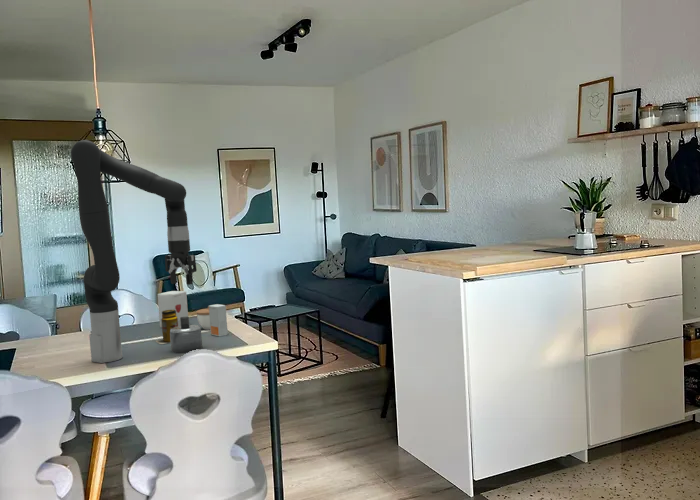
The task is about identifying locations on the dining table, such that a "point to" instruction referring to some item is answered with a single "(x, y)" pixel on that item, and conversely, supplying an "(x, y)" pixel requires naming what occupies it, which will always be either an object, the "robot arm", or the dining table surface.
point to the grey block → (186, 341)
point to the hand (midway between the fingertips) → (181, 283)
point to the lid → (185, 326)
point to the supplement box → (173, 304)
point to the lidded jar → (204, 318)
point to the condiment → (168, 325)
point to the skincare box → (218, 320)
